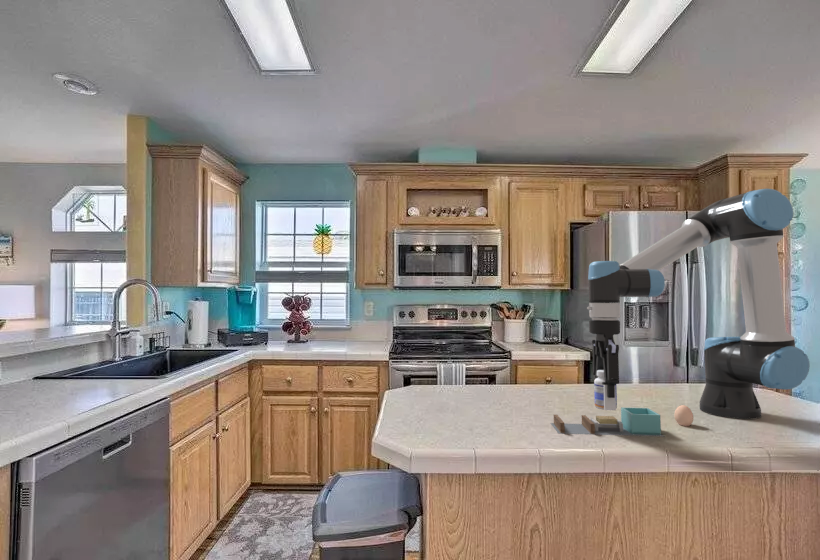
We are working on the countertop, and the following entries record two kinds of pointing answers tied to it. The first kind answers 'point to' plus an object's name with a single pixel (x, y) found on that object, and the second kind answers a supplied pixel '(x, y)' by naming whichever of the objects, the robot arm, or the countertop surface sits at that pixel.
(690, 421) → the egg
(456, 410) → the countertop surface
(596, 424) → the cradle base
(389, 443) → the countertop surface
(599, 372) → the pill bottle
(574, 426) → the mat
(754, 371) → the robot arm
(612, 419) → the pad
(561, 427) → the trough
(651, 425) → the teal open box
